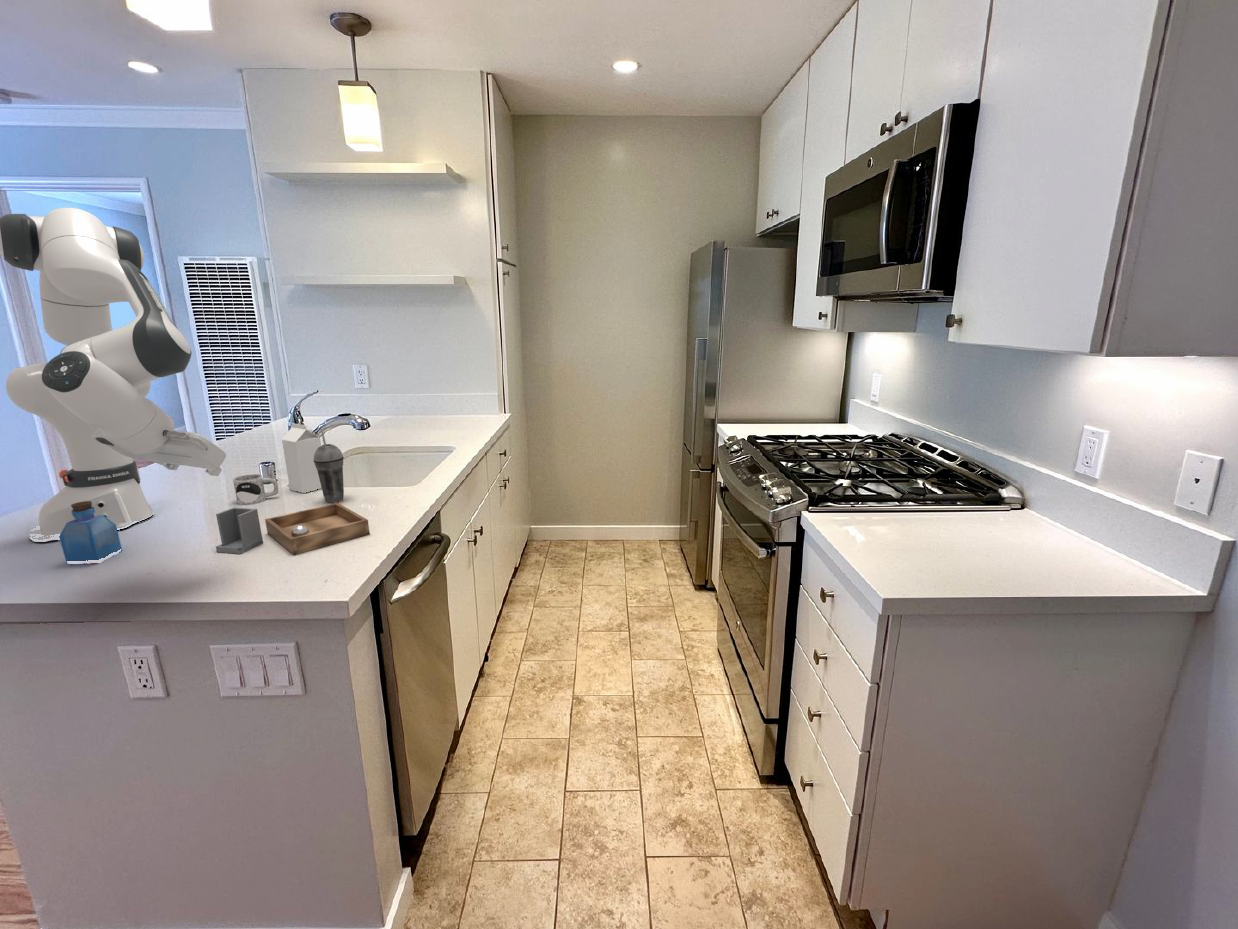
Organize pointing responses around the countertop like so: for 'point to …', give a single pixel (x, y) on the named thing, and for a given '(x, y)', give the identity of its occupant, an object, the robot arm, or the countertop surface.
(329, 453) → the beverage cup
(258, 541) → the grey ball display stand
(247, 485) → the mug
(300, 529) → the steel ball
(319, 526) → the walnut tray
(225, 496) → the countertop surface
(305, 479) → the milk carton
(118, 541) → the perfume bottle
